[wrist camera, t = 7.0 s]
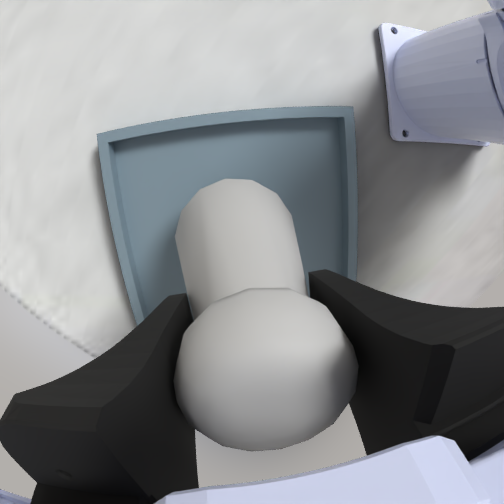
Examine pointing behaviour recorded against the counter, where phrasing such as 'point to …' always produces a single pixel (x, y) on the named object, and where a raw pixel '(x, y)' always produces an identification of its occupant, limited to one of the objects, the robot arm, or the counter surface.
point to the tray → (229, 167)
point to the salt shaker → (255, 326)
